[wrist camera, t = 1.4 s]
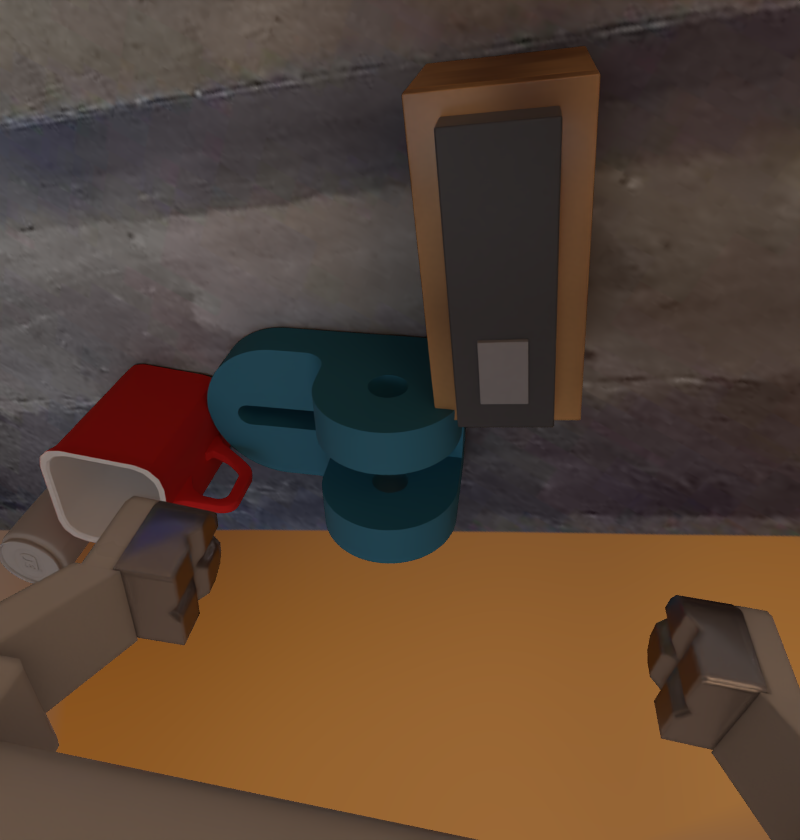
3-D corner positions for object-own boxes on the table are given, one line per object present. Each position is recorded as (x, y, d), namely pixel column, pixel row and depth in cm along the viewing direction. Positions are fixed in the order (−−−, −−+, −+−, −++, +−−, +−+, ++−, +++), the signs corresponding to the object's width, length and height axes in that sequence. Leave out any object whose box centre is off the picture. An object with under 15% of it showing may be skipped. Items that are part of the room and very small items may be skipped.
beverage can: (92, 469, 56) (3, 577, 46) (84, 426, 53) (-13, 533, 43) (145, 481, 56) (67, 593, 46) (140, 439, 53) (55, 549, 43)
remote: (560, 105, 26) (562, 117, 24) (552, 405, 35) (554, 431, 33) (438, 116, 27) (432, 129, 25) (460, 406, 36) (457, 430, 34)
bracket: (471, 341, 42) (457, 440, 34) (463, 462, 48) (449, 571, 40) (211, 322, 45) (138, 410, 36) (235, 440, 51) (178, 538, 43)
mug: (139, 441, 53) (64, 536, 45) (122, 356, 48) (33, 446, 39) (280, 468, 52) (229, 570, 44) (277, 384, 47) (219, 481, 38)
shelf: (586, 45, 32) (600, 73, 25) (572, 346, 41) (580, 420, 35) (425, 63, 33) (401, 93, 27) (449, 349, 43) (435, 420, 37)
